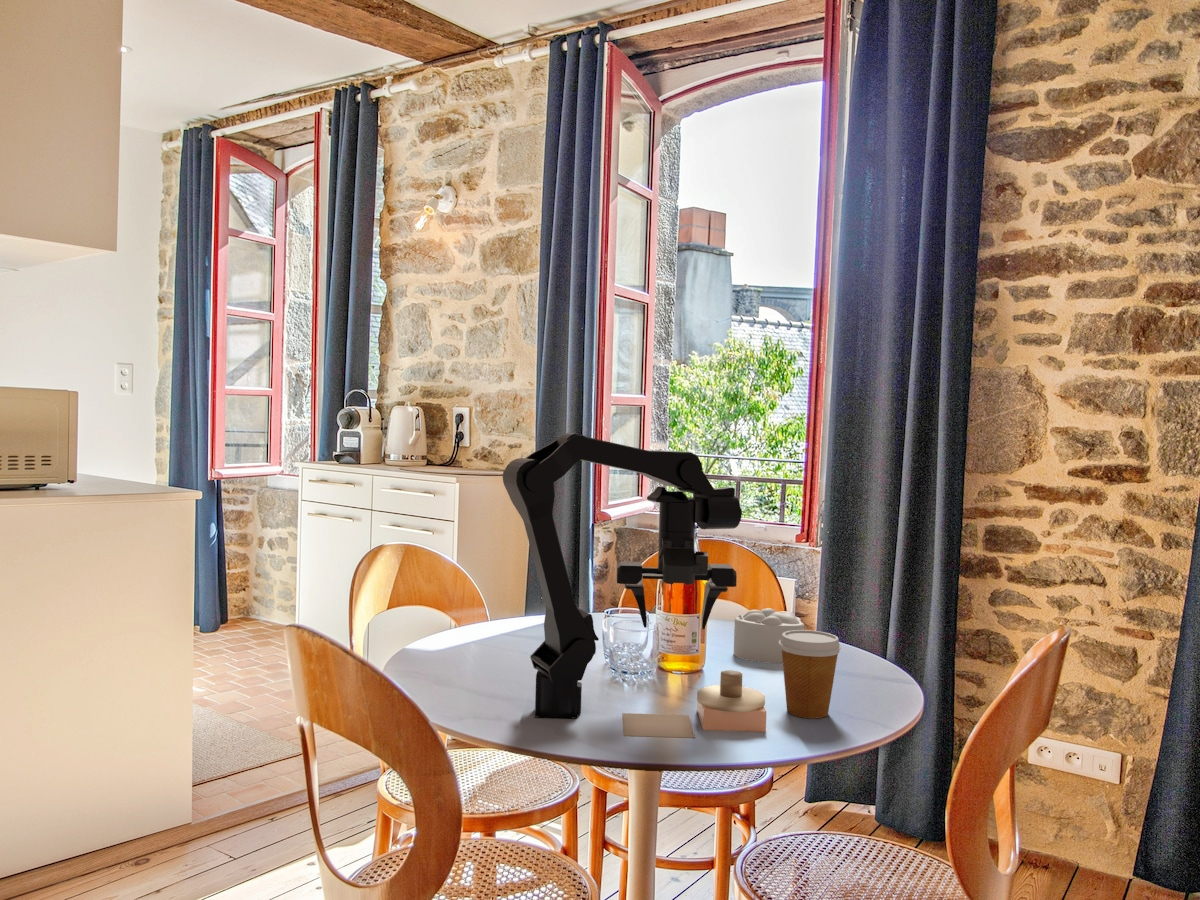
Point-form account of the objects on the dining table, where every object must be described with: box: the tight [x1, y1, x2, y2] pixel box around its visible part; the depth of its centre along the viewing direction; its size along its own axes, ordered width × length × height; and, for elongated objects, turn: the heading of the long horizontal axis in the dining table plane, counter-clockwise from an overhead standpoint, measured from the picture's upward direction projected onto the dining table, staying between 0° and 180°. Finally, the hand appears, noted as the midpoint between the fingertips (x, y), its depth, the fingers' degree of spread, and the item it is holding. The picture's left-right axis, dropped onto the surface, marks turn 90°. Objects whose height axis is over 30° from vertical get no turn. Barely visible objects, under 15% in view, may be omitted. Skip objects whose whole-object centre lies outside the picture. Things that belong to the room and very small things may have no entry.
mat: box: [622, 712, 696, 739], centre depth 135 cm, size 10×10×1 cm
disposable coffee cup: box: [779, 629, 842, 719], centre depth 144 cm, size 10×10×12 cm
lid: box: [696, 670, 766, 712], centre depth 137 cm, size 10×10×4 cm
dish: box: [696, 700, 767, 733], centre depth 138 cm, size 9×9×4 cm
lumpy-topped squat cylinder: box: [733, 607, 805, 664], centre depth 179 cm, size 10×13×9 cm
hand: (674, 627), depth 147 cm, fingers open, 9 cm apart
